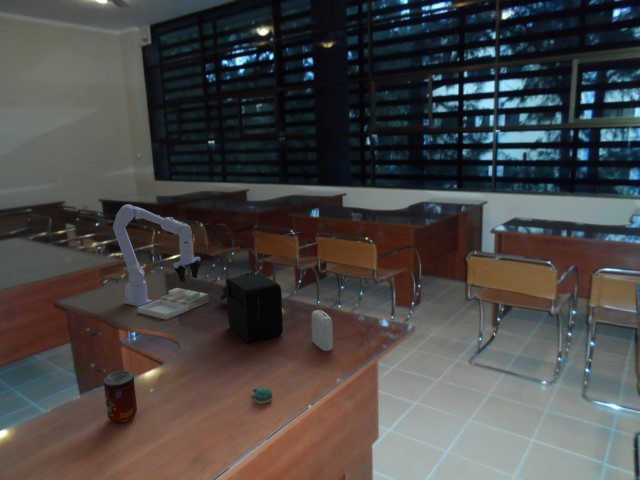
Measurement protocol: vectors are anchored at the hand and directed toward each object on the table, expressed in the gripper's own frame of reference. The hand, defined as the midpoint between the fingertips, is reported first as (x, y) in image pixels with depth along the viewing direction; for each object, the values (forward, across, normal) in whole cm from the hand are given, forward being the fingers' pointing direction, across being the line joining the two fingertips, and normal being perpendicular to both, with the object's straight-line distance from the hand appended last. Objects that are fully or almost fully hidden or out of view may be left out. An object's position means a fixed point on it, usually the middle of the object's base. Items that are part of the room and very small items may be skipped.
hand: (188, 279), depth 215 cm
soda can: (+9, -80, -58) cm, 98 cm away
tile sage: (+5, -8, -9) cm, 13 cm away
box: (+8, -20, -4) cm, 22 cm away
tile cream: (+5, -8, 0) cm, 9 cm away
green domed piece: (+9, -54, -83) cm, 99 cm away
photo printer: (+9, -16, -80) cm, 83 cm away
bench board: (+8, -7, -4) cm, 12 cm away
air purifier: (+9, -18, -52) cm, 56 cm away
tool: (+9, +6, -28) cm, 29 cm away
